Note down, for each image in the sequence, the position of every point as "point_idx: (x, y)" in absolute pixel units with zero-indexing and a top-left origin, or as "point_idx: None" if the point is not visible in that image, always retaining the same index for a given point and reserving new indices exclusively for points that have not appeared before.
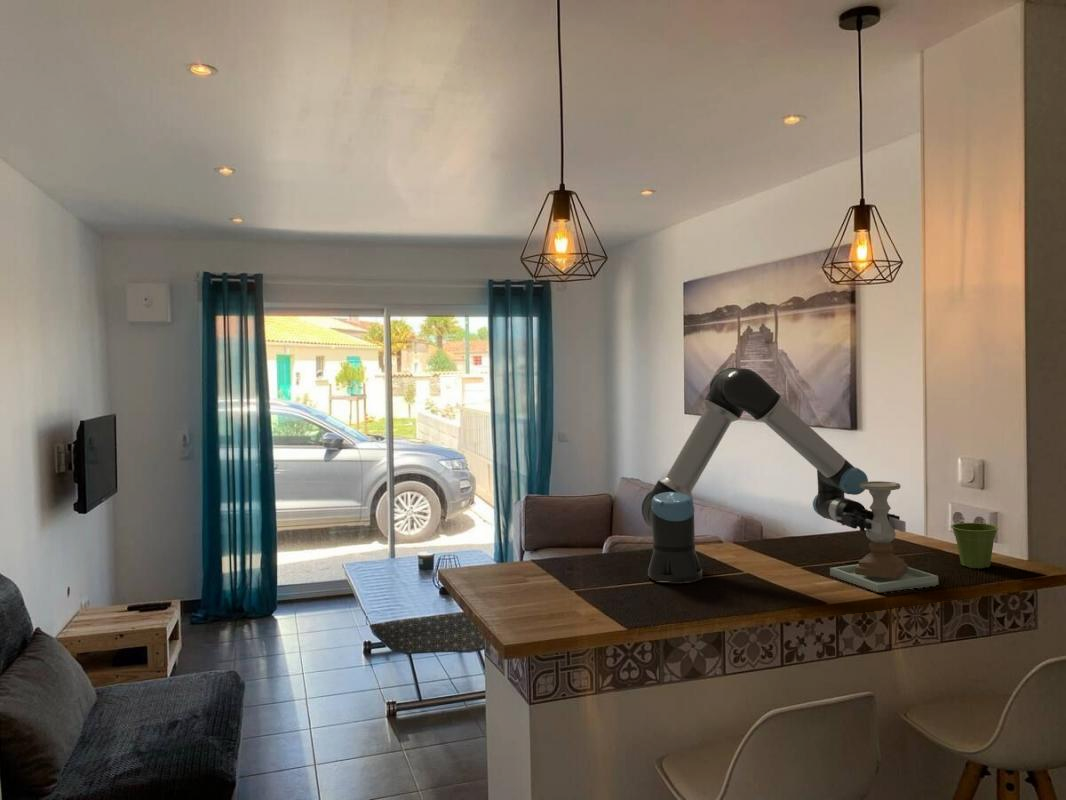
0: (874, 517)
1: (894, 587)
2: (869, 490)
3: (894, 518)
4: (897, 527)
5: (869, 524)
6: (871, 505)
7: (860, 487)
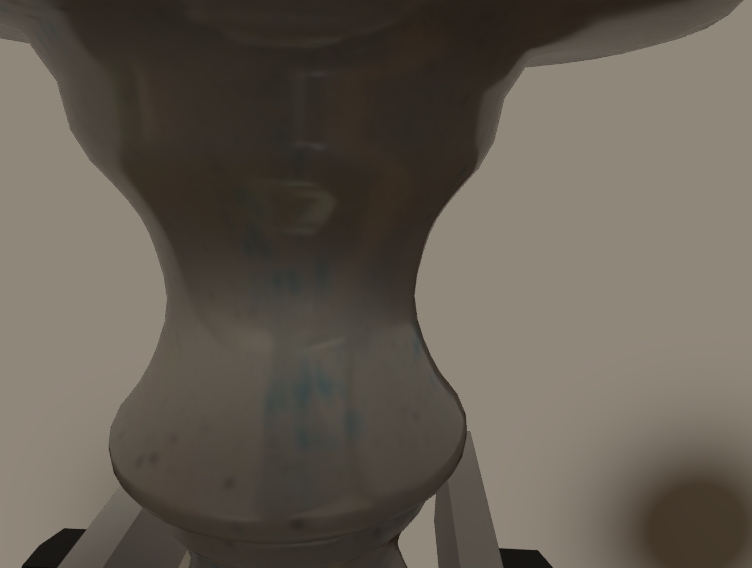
0: (398, 557)
1: None
2: (511, 87)
3: (80, 555)
4: (167, 556)
5: (517, 556)
6: (439, 400)
7: (732, 7)
